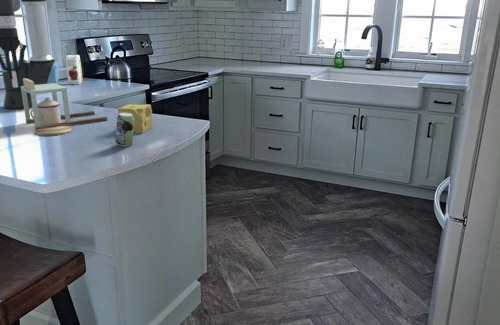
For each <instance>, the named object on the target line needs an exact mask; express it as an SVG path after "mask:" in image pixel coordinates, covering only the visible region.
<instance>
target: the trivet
mask: <svg viewBox="0 0 500 325" xmlns="http://www.w3.org/2000/svg"><path fill="white" fill-rule="evenodd" d="M72 131H73V129H72V126H54V127H47V128H40V129H37V130H36V129H35V130H34V133H35V135H37V136H40V137H55V136H61V135H66V134H70V133H71V132H72ZM65 133H66V134H65Z"/></svg>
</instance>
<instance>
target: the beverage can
mask: <svg viewBox="0 0 500 325" xmlns="http://www.w3.org/2000/svg"><path fill="white" fill-rule="evenodd" d="M133 130H134V117H133V114H131V113H119V115H117V117H116V128H115V144H117V145H118V146H120V147H130V146H131V145H132V144H133V141H134V132H133Z"/></svg>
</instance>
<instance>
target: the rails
mask: <svg viewBox="0 0 500 325" xmlns="http://www.w3.org/2000/svg"><path fill="white" fill-rule="evenodd" d="M95 114H96V113H95V111H93V110H91V111H90V110H89V111H84V112H83V111H82V112H75V113H70V119H74V118H73V117H75V118H81V117H88V116H95ZM60 117H61V120H65V114H60ZM30 119H31V120H26V119H25V123H26V125H30V124H35V121H34V119H33V118H30ZM70 121H71V122H69V123H66V121H64V122H61V123H56V124H48V125H40V127H36V126H35V125H34V127H35V131H36V130H37V129H40V128H47V127H54V126H68V127H73V126H79V125H86V124H94V123H100V122H106V121H107V122H108V117H107V116H101V117H100V116H99V117H94V118H93V117H92V118H84V119H80V120H79V119H77V120H70Z"/></svg>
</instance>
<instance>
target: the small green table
mask: <svg viewBox="0 0 500 325" xmlns="http://www.w3.org/2000/svg"><path fill="white" fill-rule="evenodd" d="M23 83H24V86H21V92H22V98H23V104H24V116H25V121H26V120H31V119H32V118H31V114H30V112H31V111H30V108H29V106H28V99H27V92H28V93H30V94H31V101H32V107H31V108H32V110H33V112H32V115H33V116H34V121H35V123H34V127H35V126H36V127H40V126H41V125H40V121H39V114H38V107H37V104H38V102H37V95H38V94H48V93H51V96H52V100H53V101H55V102H58V101H59V100H58V93H59V92H61V97H62V102H63V103H62V104H63V110H64V111H63V112H64V115H65V119H64V121H65V122H66V123H69V122H71V121H72V120H71V118H70V114H71V113H70V105H69V99H68V98H69V97H68V91H67V90H68V89H67V87H65V86H62V85H60V84H58V83H57V84H55V83H51V84H40V85H34V81H32V80H29V79H27V78H25V79H23ZM58 103H59V102H58Z"/></svg>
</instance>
